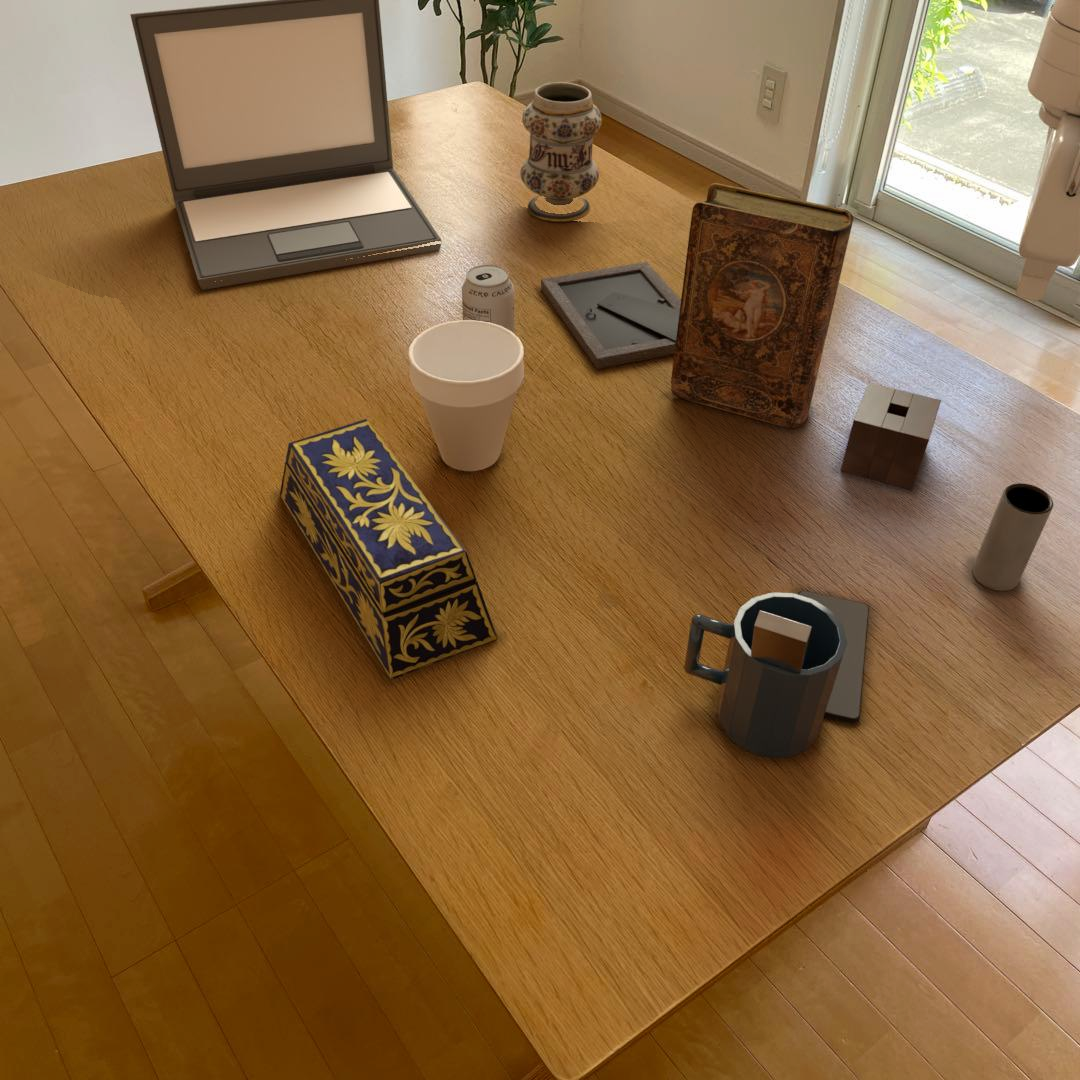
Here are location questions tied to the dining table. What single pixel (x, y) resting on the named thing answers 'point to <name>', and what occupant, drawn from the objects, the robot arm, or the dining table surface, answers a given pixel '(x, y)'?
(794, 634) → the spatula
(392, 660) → the decorative box
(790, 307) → the book
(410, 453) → the dining table surface
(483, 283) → the energy drink can
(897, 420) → the utensil block
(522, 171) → the apothecary jar
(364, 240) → the laptop
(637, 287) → the picture frame
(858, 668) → the smartphone
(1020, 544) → the grey hollow cylinder
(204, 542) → the dining table surface
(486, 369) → the cup
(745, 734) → the grey coffee mug
